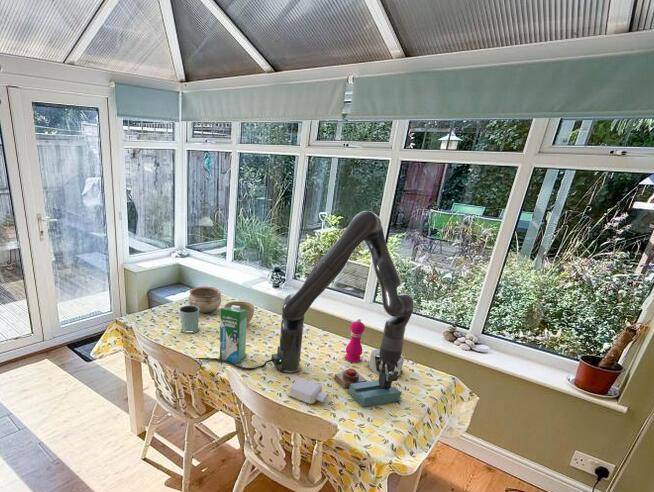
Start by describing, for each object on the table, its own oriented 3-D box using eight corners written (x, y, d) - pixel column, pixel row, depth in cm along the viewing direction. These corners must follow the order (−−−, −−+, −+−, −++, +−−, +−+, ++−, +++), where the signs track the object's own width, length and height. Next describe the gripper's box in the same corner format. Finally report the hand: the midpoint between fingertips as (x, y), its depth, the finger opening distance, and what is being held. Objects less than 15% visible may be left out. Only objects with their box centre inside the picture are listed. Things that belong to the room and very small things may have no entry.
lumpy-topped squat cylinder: (395, 379, 172) (399, 361, 169) (365, 369, 179) (368, 351, 176) (403, 369, 179) (406, 352, 176) (373, 360, 187) (376, 343, 183)
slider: (382, 391, 158) (385, 376, 156) (378, 387, 161) (381, 372, 158) (389, 390, 159) (391, 375, 156) (384, 386, 161) (387, 371, 159)
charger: (325, 411, 151) (288, 396, 159) (335, 399, 158) (299, 386, 166) (326, 400, 149) (289, 386, 157) (336, 389, 156) (300, 376, 164)
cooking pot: (208, 301, 254) (208, 282, 249) (231, 309, 242) (231, 290, 237) (178, 312, 237) (177, 292, 233) (200, 321, 225) (200, 300, 221)
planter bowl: (234, 317, 232) (235, 299, 228) (259, 324, 223) (260, 305, 219) (217, 326, 220) (218, 307, 216) (243, 334, 211) (244, 314, 207)
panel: (344, 388, 165) (345, 379, 164) (334, 378, 172) (335, 370, 171) (366, 385, 168) (367, 376, 166) (355, 375, 175) (356, 367, 173)
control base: (363, 407, 154) (365, 396, 152) (348, 392, 162) (350, 382, 161) (399, 400, 158) (401, 390, 156) (383, 387, 166) (385, 377, 165)
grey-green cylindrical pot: (203, 329, 216) (203, 307, 212) (191, 335, 208) (191, 314, 204) (187, 324, 221) (187, 303, 217) (176, 331, 213) (175, 309, 209)
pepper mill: (361, 363, 184) (368, 322, 176) (345, 361, 185) (351, 321, 178) (360, 356, 191) (366, 316, 183) (343, 354, 192) (349, 315, 184)
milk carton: (245, 355, 190) (247, 305, 180) (238, 363, 182) (239, 311, 173) (227, 351, 194) (228, 301, 184) (219, 359, 186) (220, 308, 176)
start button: (349, 376, 167) (350, 372, 166) (345, 372, 170) (346, 369, 169) (356, 375, 168) (357, 371, 167) (352, 371, 170) (353, 368, 170)
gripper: (371, 339, 158) (365, 378, 165) (395, 356, 145) (387, 397, 152) (388, 337, 160) (381, 375, 166) (412, 353, 147) (404, 394, 154)
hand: (384, 385), depth 159 cm, fingers open, 3 cm apart
